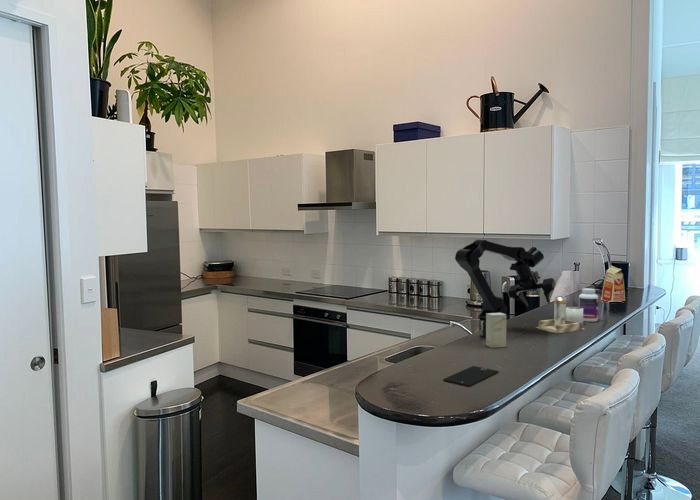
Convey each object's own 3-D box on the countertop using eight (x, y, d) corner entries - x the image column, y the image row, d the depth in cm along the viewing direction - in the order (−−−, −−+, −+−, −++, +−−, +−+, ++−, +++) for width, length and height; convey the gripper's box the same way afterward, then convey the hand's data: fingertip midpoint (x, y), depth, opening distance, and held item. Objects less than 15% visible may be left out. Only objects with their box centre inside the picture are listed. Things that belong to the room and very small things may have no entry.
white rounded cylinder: (575, 325, 224) (575, 309, 224) (562, 323, 231) (562, 307, 230) (586, 324, 227) (587, 308, 227) (573, 321, 234) (573, 305, 233)
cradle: (555, 333, 210) (555, 326, 210) (535, 328, 221) (535, 321, 221) (584, 329, 216) (584, 322, 216) (564, 324, 227) (564, 318, 227)
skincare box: (491, 348, 188) (491, 315, 188) (485, 345, 193) (485, 313, 192) (506, 346, 190) (507, 314, 189) (500, 344, 194) (500, 312, 194)
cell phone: (499, 373, 159) (499, 370, 159) (469, 388, 146) (469, 385, 146) (473, 368, 165) (473, 365, 165) (442, 382, 152) (442, 379, 152)
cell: (562, 329, 215) (563, 297, 214) (551, 327, 219) (552, 295, 218) (567, 327, 219) (568, 295, 218) (556, 326, 222) (557, 294, 221)
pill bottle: (600, 322, 231) (600, 290, 230) (581, 322, 232) (581, 290, 231) (595, 319, 239) (596, 288, 238) (577, 318, 240) (577, 287, 239)
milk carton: (600, 301, 289) (601, 265, 287) (614, 300, 291) (614, 264, 290) (613, 303, 280) (614, 266, 279) (627, 302, 283) (627, 266, 282)
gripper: (550, 259, 212) (563, 290, 217) (507, 268, 224) (520, 297, 228) (546, 273, 204) (560, 305, 208) (501, 282, 215) (515, 312, 220)
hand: (538, 304), depth 216 cm, fingers open, 9 cm apart
